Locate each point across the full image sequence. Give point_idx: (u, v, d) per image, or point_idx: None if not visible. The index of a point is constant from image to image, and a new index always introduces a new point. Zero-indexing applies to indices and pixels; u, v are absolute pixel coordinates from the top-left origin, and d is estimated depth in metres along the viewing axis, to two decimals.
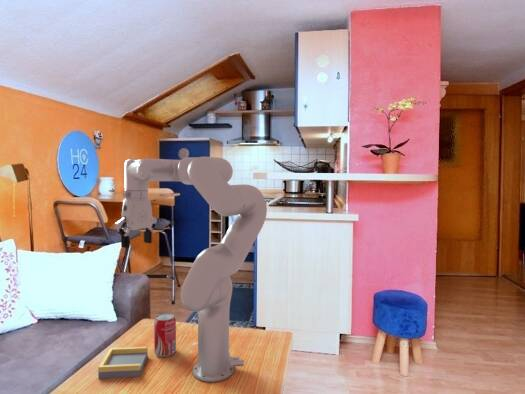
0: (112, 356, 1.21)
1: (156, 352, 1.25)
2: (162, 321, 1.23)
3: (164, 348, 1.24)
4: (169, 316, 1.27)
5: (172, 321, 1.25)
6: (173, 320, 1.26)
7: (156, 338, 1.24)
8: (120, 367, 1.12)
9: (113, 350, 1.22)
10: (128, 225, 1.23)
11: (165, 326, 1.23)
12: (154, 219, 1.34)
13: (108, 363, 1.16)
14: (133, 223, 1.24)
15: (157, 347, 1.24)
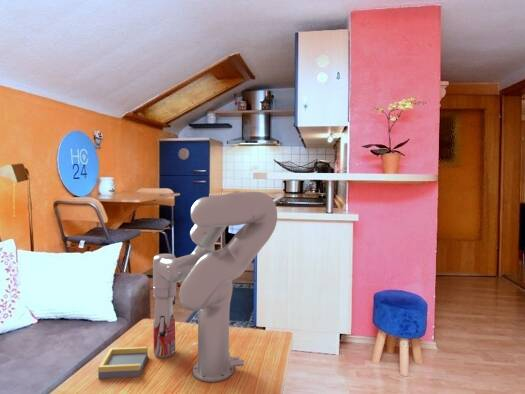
0: (112, 356, 1.21)
1: (155, 352, 1.24)
2: None
3: (163, 349, 1.23)
4: None
5: (172, 321, 1.25)
6: (172, 320, 1.25)
7: (155, 338, 1.24)
8: (120, 367, 1.12)
9: (113, 350, 1.22)
10: None
11: (164, 327, 1.23)
12: None
13: (108, 363, 1.16)
14: None
15: (156, 347, 1.24)
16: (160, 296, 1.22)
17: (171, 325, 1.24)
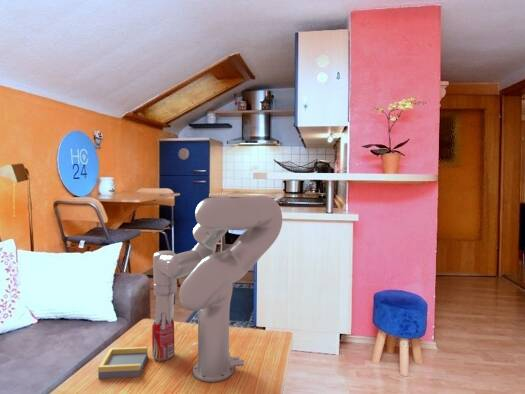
0: (112, 356, 1.21)
1: (153, 354, 1.23)
2: None
3: (159, 352, 1.21)
4: None
5: (169, 324, 1.22)
6: (169, 324, 1.22)
7: (153, 340, 1.23)
8: (120, 367, 1.12)
9: (113, 350, 1.22)
10: None
11: (160, 329, 1.21)
12: None
13: (108, 363, 1.16)
14: None
15: (153, 349, 1.22)
16: (161, 293, 1.22)
17: (167, 328, 1.22)
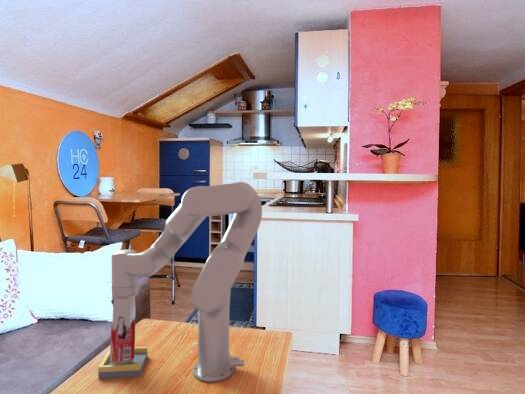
0: None
1: (110, 357, 1.15)
2: None
3: (114, 353, 1.13)
4: None
5: None
6: None
7: None
8: (120, 367, 1.12)
9: None
10: None
11: None
12: None
13: (108, 363, 1.16)
14: None
15: (110, 351, 1.14)
16: (119, 295, 1.13)
17: (124, 327, 1.14)
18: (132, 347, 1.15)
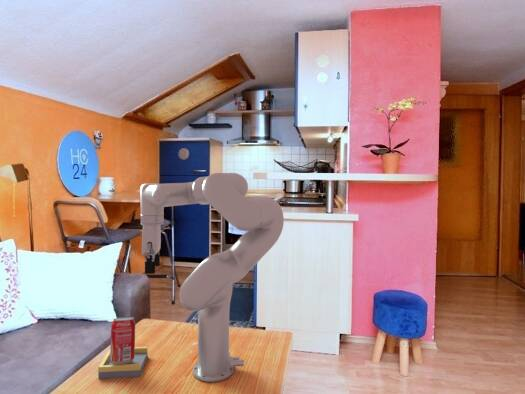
0: None
1: (110, 357, 1.15)
2: (115, 321, 1.15)
3: (114, 353, 1.13)
4: (128, 319, 1.18)
5: (126, 323, 1.15)
6: (127, 323, 1.15)
7: None
8: (120, 367, 1.12)
9: None
10: None
11: (116, 327, 1.14)
12: None
13: (108, 363, 1.16)
14: None
15: (110, 351, 1.14)
16: (147, 223, 1.23)
17: (124, 327, 1.14)
18: (132, 347, 1.15)
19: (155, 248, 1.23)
